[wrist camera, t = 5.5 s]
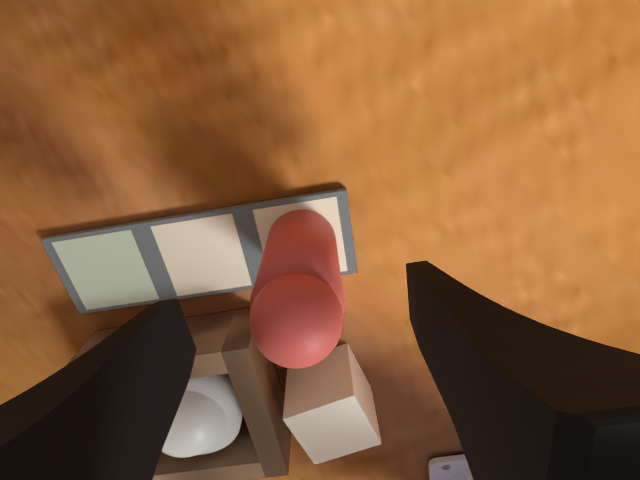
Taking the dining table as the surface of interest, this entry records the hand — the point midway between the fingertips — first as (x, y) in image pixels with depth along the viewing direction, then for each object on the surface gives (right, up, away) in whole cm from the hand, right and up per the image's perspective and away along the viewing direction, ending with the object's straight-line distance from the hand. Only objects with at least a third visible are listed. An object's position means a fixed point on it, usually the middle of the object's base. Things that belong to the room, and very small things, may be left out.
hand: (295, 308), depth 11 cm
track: (-4, +2, +5) cm, 7 cm away
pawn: (0, +2, +5) cm, 5 cm away
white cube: (+1, -5, +9) cm, 10 cm away
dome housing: (-6, -6, +9) cm, 12 cm away
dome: (-6, -5, +9) cm, 12 cm away
